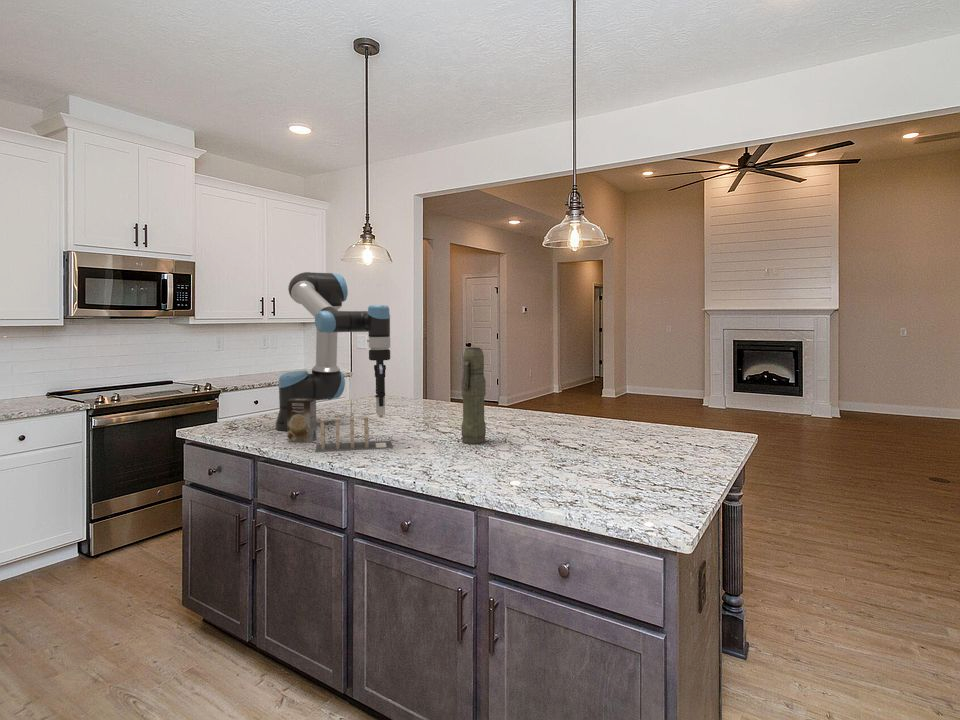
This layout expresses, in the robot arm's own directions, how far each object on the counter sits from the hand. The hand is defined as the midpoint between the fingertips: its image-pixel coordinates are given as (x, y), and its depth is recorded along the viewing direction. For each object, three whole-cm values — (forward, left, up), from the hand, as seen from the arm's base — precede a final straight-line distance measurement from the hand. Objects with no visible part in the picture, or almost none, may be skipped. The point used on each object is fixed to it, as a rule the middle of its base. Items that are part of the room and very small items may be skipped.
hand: (380, 413), depth 197 cm
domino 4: (0, -5, -11) cm, 12 cm away
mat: (-1, -9, -12) cm, 15 cm away
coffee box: (-14, -28, -12) cm, 34 cm away
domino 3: (0, -10, -11) cm, 15 cm away
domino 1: (0, -20, -11) cm, 23 cm away
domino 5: (0, 0, -1) cm, 1 cm away
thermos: (+1, +34, -12) cm, 36 cm away
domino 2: (0, -15, -11) cm, 19 cm away
